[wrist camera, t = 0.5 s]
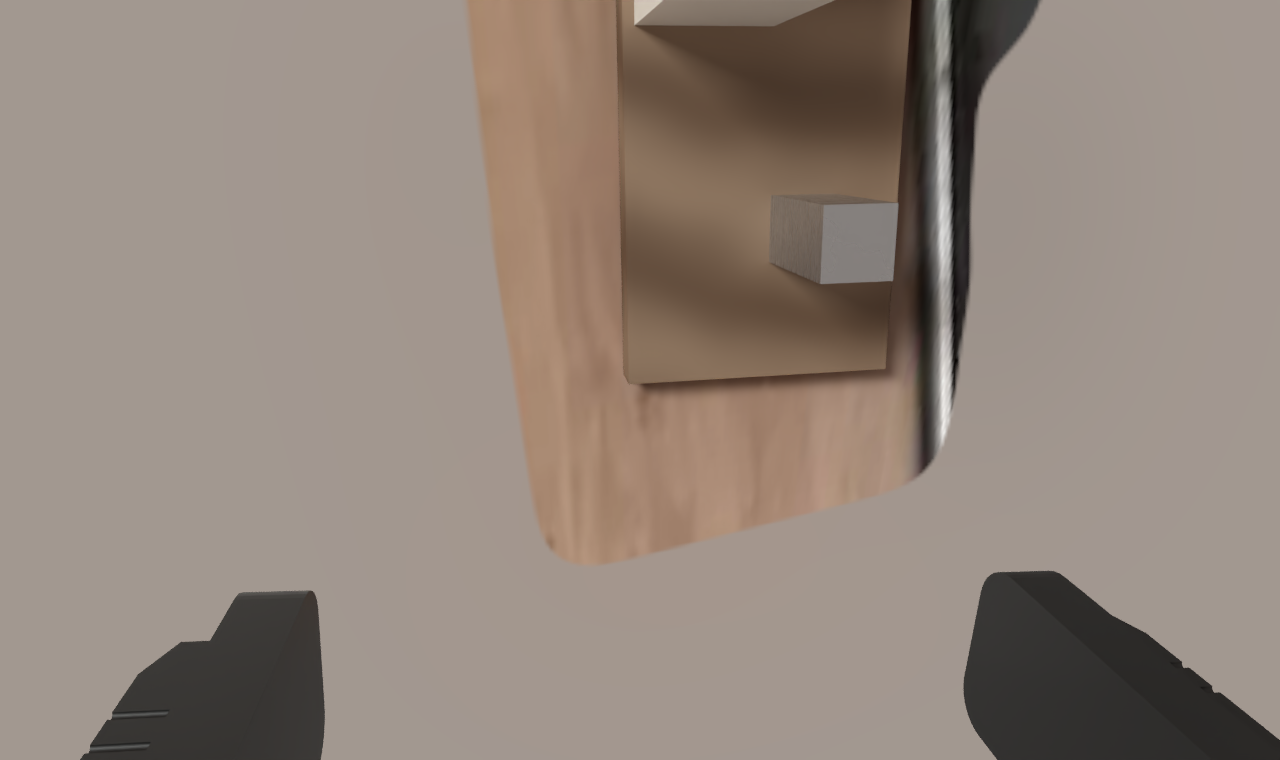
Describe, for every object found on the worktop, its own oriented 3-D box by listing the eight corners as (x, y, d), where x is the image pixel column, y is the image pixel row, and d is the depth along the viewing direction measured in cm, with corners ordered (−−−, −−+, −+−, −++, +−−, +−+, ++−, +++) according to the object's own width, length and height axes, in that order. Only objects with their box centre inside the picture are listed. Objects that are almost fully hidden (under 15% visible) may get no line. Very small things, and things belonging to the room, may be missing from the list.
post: (770, 195, 32) (824, 204, 27) (834, 193, 33) (898, 203, 27) (768, 262, 33) (820, 283, 28) (830, 259, 33) (893, 280, 28)
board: (611, -236, 29) (617, -256, 27) (907, -219, 30) (928, -237, 29) (623, 374, 35) (629, 384, 33) (870, 360, 36) (885, 368, 35)
